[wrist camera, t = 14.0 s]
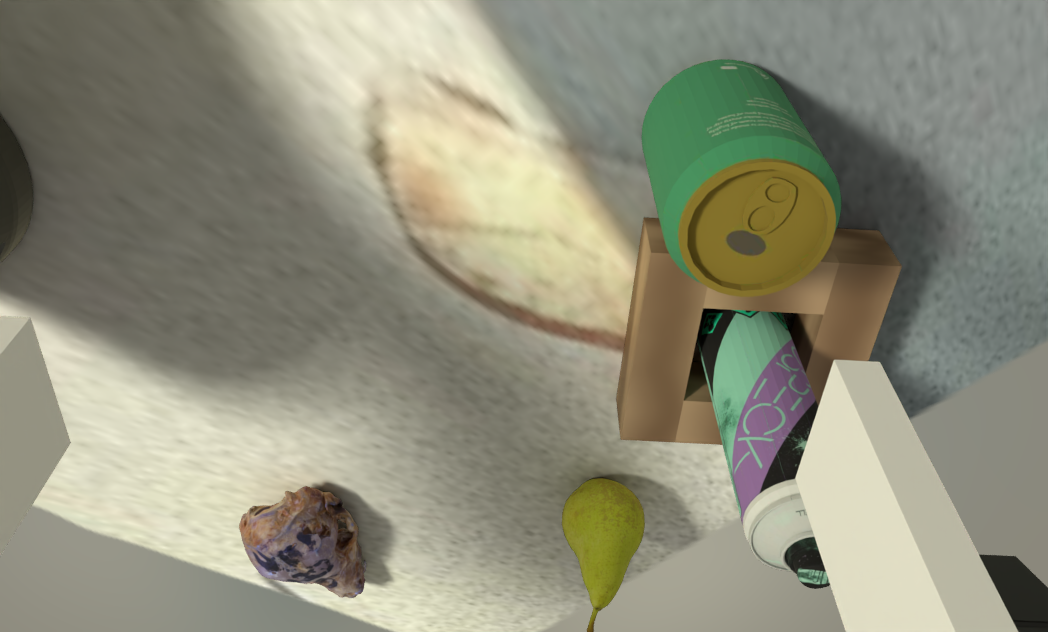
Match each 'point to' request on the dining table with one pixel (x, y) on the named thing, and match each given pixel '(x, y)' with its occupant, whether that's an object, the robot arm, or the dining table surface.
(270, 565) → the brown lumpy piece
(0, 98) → the dining table surface
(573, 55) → the dining table surface
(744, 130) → the beverage can
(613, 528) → the fruit
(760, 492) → the spray can
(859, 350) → the hole block
